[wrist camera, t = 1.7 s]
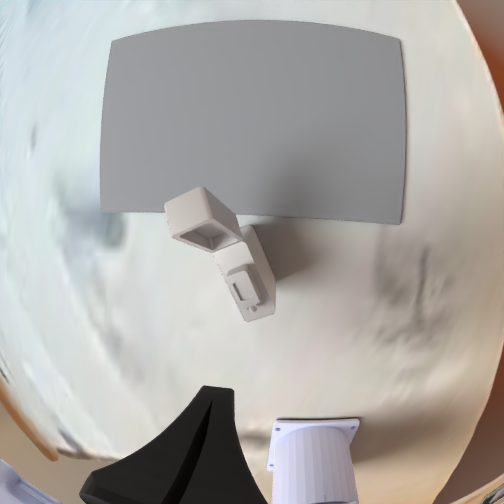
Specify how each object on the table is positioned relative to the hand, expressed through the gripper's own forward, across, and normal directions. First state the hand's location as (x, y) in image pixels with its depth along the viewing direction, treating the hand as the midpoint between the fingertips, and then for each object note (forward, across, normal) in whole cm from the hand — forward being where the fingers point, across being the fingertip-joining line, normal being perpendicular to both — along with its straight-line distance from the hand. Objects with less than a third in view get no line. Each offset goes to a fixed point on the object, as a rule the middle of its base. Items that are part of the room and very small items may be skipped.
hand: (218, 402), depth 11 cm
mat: (+8, 0, -13) cm, 16 cm away
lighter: (+9, 0, -5) cm, 10 cm away
